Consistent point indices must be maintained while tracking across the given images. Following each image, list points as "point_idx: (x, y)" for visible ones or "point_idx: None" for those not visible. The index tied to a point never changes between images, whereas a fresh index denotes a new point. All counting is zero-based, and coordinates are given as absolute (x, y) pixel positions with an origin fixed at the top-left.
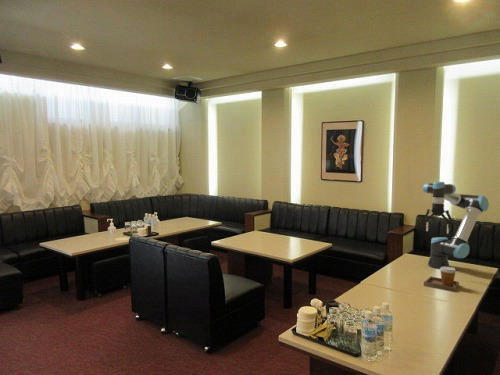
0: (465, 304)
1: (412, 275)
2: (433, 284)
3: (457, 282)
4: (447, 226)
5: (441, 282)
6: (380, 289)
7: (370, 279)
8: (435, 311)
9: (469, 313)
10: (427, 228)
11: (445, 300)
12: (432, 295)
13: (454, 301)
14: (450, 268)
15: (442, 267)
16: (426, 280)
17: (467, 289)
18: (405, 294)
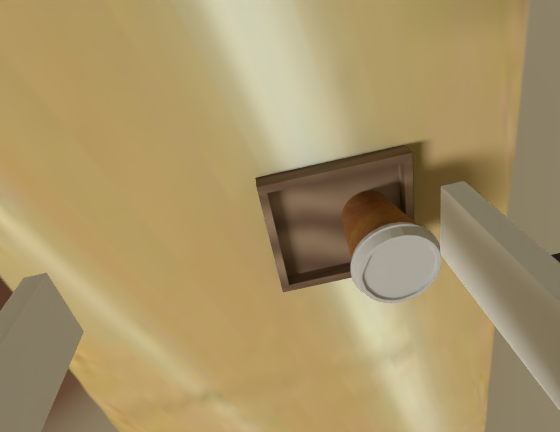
0: (469, 332)
1: (144, 180)
2: (326, 280)
3: (408, 171)
4: (545, 370)
5: (325, 187)
6: (198, 419)
7: (85, 377)
8: (407, 425)
9: (488, 378)
10: (55, 368)
11: (407, 349)
12: (356, 343)
13: (433, 336)
14: (409, 253)
15: (364, 270)
16: (279, 263)
17: (451, 172)
18: (284, 396)
